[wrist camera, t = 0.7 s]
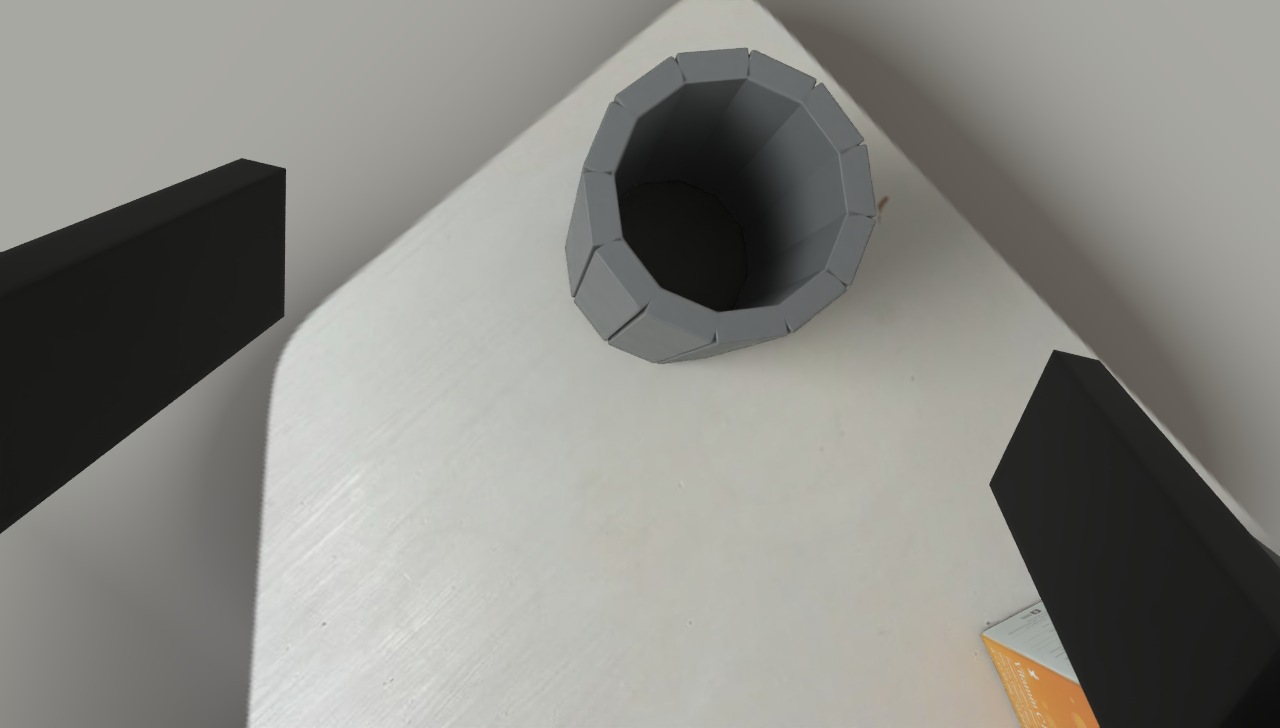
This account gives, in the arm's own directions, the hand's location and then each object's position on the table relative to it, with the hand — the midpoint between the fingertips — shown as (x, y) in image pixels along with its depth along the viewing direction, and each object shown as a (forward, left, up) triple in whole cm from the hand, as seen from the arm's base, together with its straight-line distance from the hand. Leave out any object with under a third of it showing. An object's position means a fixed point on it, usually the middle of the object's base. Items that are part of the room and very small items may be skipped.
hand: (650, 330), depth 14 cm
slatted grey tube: (-2, +7, -23) cm, 24 cm away
